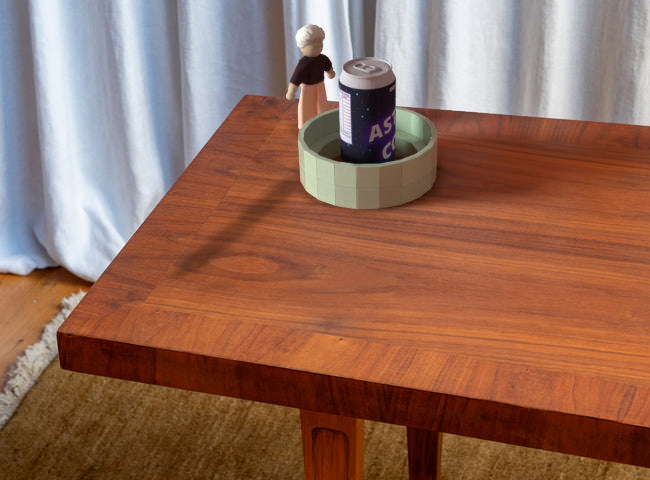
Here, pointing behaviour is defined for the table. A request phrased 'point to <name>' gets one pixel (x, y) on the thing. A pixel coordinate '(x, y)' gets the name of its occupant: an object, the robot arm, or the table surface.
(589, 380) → the table surface
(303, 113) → the grandmother figurine
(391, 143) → the beverage can
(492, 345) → the table surface
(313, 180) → the green faceted ring
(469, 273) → the table surface
